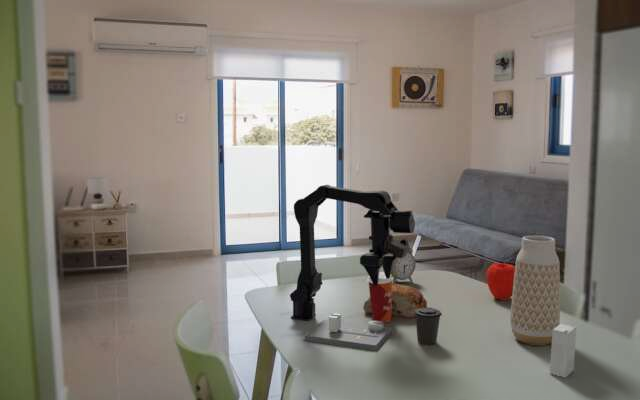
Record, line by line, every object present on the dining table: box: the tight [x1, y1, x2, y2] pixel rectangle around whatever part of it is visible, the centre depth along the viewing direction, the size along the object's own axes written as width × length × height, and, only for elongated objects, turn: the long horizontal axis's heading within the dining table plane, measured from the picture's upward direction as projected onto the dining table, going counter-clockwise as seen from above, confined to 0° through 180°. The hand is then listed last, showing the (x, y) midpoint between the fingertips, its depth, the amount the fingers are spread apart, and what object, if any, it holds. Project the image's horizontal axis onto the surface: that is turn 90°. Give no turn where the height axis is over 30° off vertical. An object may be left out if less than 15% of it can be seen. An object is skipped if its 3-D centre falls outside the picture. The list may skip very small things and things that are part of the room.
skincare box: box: [549, 323, 577, 379], centre depth 158 cm, size 6×4×12 cm
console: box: [304, 319, 392, 351], centre depth 185 cm, size 22×16×4 cm
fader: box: [328, 313, 342, 332], centre depth 185 cm, size 2×4×5 cm, turn 158°
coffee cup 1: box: [366, 271, 393, 323], centre depth 199 cm, size 8×8×15 cm
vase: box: [510, 235, 561, 346], centre depth 181 cm, size 14×14×31 cm
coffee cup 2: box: [414, 307, 442, 347], centre depth 180 cm, size 8×8×10 cm
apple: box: [486, 262, 515, 301], centre depth 224 cm, size 12×12×13 cm
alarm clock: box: [391, 244, 416, 284], centre depth 248 cm, size 12×7×15 cm, turn 123°
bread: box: [363, 283, 428, 318], centre depth 211 cm, size 20×18×10 cm
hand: (382, 281), depth 191 cm, fingers open, 9 cm apart
